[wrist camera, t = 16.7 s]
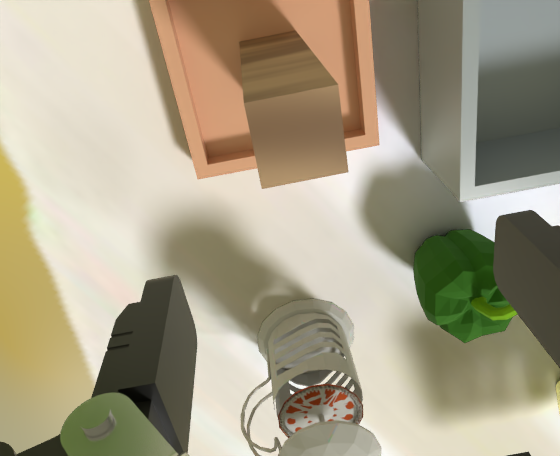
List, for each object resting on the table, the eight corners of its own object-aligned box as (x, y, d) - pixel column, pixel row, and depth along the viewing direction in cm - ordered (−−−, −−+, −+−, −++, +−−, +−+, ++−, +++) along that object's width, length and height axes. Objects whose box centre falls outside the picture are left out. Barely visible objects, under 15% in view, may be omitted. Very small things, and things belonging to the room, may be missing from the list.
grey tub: (415, -61, 33) (464, -64, 26) (652, -106, 33) (763, -121, 26) (421, 159, 41) (459, 202, 34) (612, 123, 41) (689, 159, 34)
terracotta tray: (148, -27, 33) (142, -25, 31) (355, -67, 33) (364, -68, 31) (199, 166, 40) (197, 179, 38) (371, 134, 40) (379, 144, 38)
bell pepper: (407, 300, 48) (446, 377, 40) (394, 231, 44) (433, 299, 36) (492, 277, 48) (550, 349, 39) (486, 204, 44) (549, 267, 35)
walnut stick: (239, 41, 35) (243, 103, 21) (295, 30, 35) (338, 84, 21) (250, 98, 37) (262, 188, 23) (304, 87, 37) (348, 172, 23)
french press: (363, 359, 52) (457, 655, 30) (256, 388, 53) (273, 697, 31) (343, 286, 47) (438, 577, 25) (226, 319, 48) (220, 628, 26)
